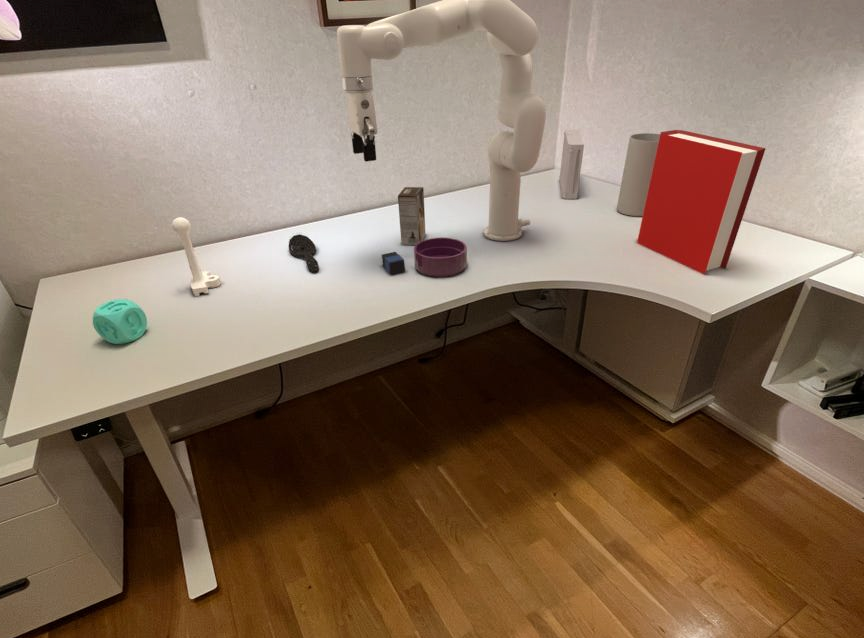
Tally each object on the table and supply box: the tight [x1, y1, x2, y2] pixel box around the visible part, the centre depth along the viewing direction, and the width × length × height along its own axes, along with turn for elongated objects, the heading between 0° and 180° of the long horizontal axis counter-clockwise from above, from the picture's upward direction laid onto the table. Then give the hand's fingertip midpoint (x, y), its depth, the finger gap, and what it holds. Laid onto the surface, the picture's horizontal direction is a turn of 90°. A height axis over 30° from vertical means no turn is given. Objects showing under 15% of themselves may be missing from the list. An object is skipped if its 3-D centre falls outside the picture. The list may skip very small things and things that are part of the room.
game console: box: [559, 129, 585, 200], centre depth 200 cm, size 6×27×20 cm, turn 171°
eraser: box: [381, 251, 406, 276], centre depth 147 cm, size 5×7×4 cm, turn 25°
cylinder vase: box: [616, 132, 660, 217], centre depth 174 cm, size 12×12×25 cm
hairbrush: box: [288, 232, 320, 274], centre depth 156 cm, size 8×4×25 cm
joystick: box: [171, 216, 222, 297], centre depth 137 cm, size 11×8×20 cm
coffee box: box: [397, 186, 426, 246], centre depth 161 cm, size 9×6×16 cm
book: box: [636, 129, 767, 275], centre depth 141 cm, size 27×8×32 cm, turn 24°
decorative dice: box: [92, 298, 148, 345], centre depth 119 cm, size 8×8×8 cm
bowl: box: [413, 237, 468, 278], centre depth 146 cm, size 15×15×6 cm
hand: (364, 156), depth 135 cm, fingers open, 9 cm apart
